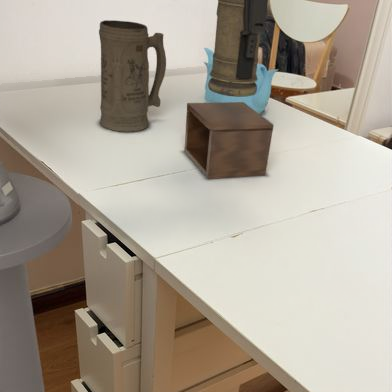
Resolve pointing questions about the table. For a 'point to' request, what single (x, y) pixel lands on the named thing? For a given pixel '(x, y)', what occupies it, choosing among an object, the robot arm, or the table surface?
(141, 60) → the beer stein
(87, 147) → the table surface
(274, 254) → the table surface
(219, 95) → the teapot
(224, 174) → the shelf
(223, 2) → the container
